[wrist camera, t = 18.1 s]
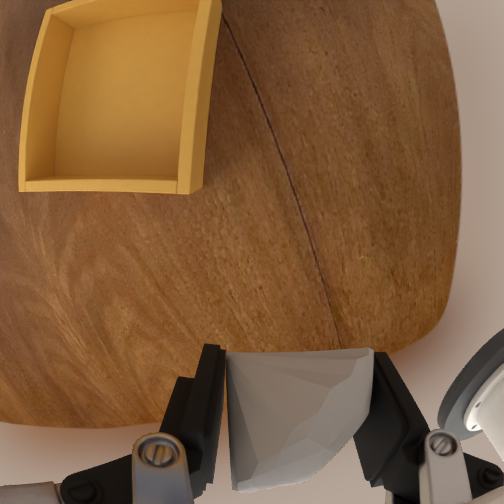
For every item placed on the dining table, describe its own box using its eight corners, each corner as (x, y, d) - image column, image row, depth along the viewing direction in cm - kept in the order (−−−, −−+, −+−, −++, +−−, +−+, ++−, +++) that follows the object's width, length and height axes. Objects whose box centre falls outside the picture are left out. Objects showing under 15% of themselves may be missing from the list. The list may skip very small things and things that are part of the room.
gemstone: (160, 306, 6) (338, 473, 4) (306, 262, 11) (419, 339, 8) (146, 430, 9) (239, 529, 6) (255, 371, 13) (334, 437, 11)
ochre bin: (222, 7, 13) (216, -24, 9) (202, 187, 16) (189, 194, 12) (73, 26, 12) (46, 9, 9) (52, 184, 15) (18, 192, 12)
